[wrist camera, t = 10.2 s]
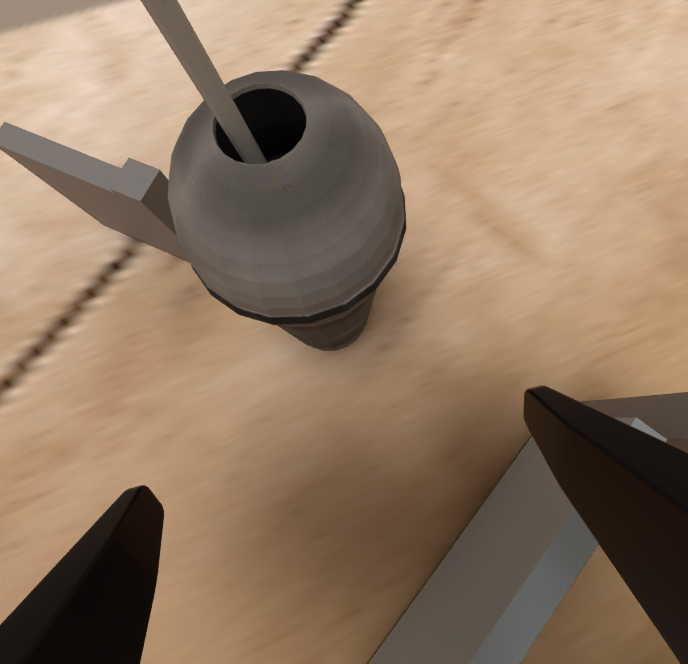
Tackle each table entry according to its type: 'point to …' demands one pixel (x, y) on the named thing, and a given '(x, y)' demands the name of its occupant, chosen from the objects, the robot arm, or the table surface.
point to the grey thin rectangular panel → (499, 573)
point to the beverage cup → (282, 195)
